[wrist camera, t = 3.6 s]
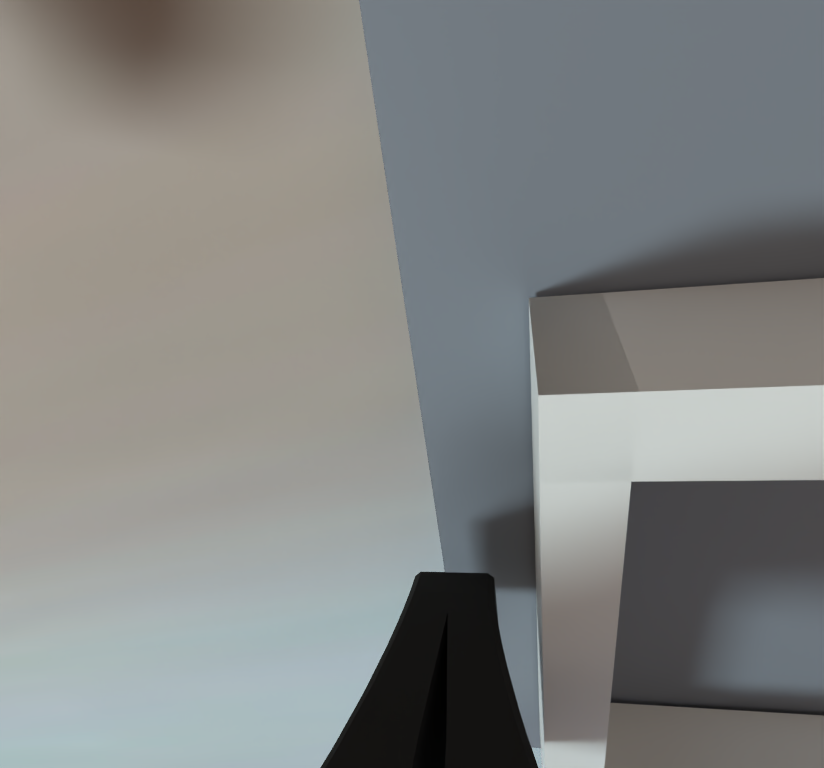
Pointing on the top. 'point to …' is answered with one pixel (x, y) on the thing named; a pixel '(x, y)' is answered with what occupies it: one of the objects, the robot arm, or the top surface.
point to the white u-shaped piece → (658, 461)
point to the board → (600, 273)
